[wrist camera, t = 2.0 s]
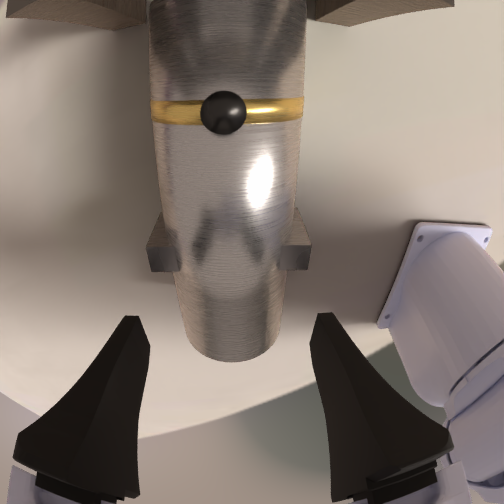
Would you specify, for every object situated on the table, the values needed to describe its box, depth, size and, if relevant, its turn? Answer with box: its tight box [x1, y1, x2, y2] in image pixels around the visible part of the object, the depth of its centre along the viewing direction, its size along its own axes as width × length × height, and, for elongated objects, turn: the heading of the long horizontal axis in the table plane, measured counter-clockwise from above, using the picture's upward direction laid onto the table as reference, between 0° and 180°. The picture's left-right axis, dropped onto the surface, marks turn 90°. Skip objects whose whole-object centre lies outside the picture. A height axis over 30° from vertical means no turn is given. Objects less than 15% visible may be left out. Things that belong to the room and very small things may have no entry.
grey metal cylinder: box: [146, 0, 311, 362], centre depth 11 cm, size 15×6×5 cm, turn 179°
